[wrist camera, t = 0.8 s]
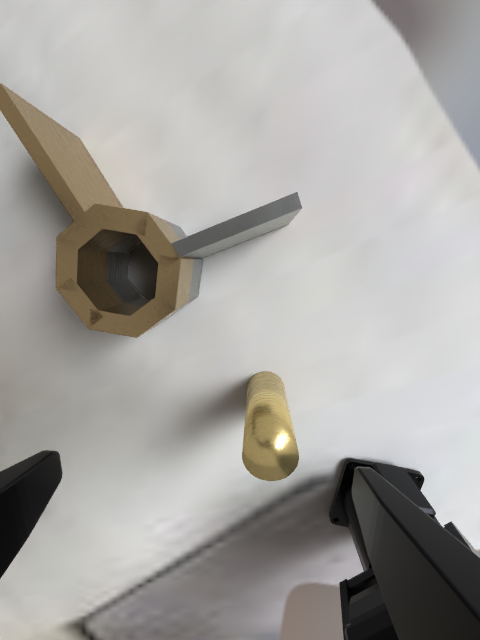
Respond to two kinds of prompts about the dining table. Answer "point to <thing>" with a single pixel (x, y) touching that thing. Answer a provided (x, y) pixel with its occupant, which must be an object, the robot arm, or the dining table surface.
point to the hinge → (122, 233)
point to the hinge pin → (268, 429)
